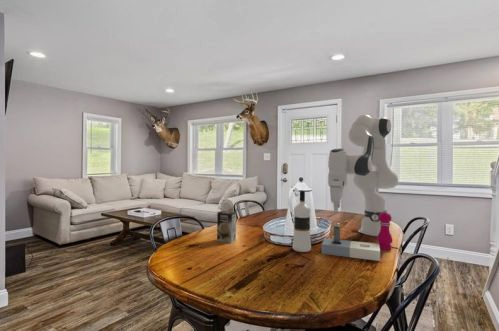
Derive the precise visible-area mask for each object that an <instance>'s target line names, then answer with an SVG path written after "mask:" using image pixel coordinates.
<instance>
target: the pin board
mask: <svg viewBox="0 0 499 331" xmlns="http://www.w3.org/2000/svg"><path fill="white" fill-rule="evenodd" d="M321 254H323V255H331V256H337V257H347V258H354V259H360V260H361V259H362V260H370V261H378V262H381V249H380V246H379V243H375V242H374V243H373V242H364V241H356V240H354V241H353V240H345V239H340V244H334V238H326V237H325V238H323V241H322V243H321Z"/></svg>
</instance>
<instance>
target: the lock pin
mask: <svg viewBox="0 0 499 331" xmlns="http://www.w3.org/2000/svg"><path fill="white" fill-rule="evenodd" d="M332 226H333V239H334V244H340V240H341V223H339V222H333V224H332Z"/></svg>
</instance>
